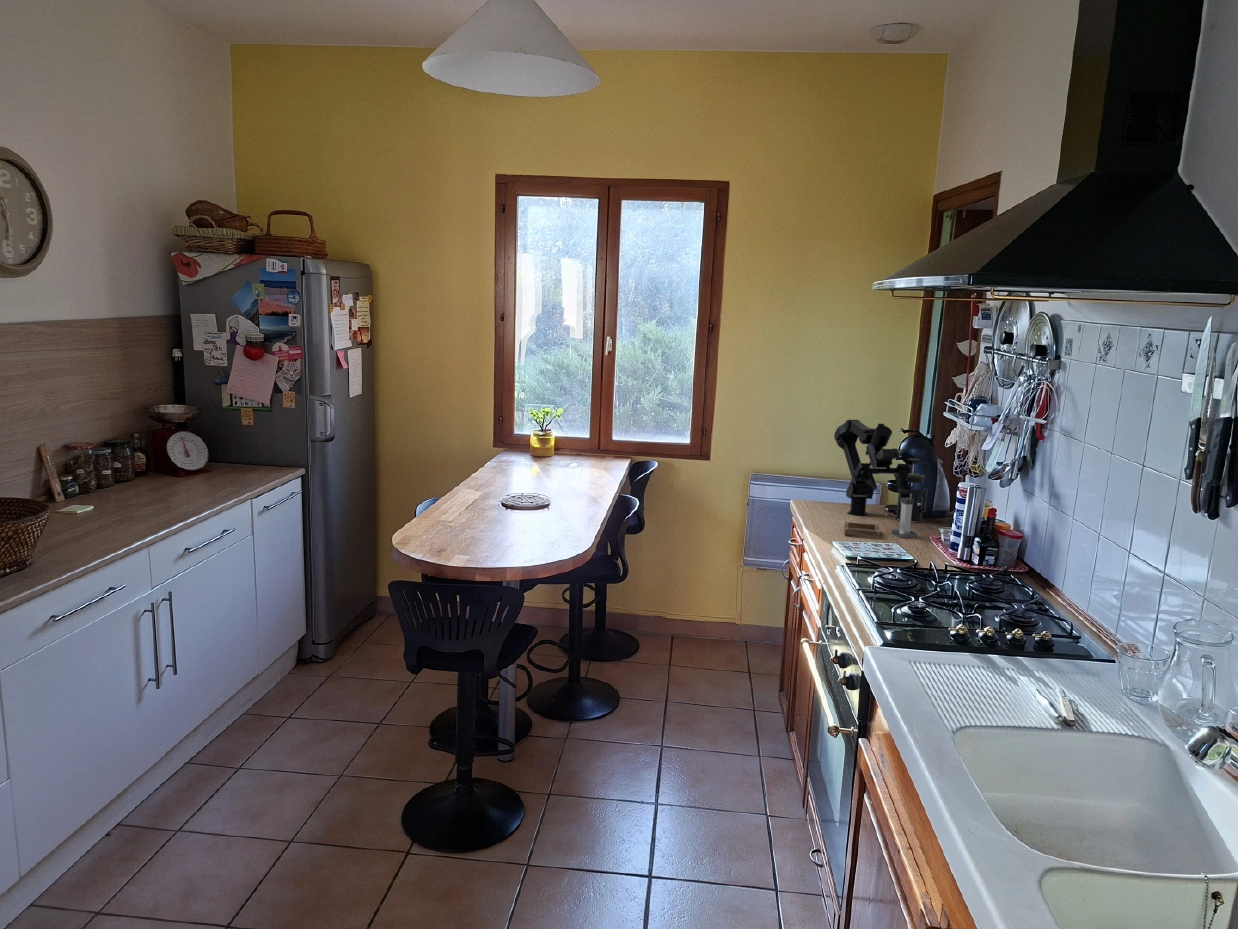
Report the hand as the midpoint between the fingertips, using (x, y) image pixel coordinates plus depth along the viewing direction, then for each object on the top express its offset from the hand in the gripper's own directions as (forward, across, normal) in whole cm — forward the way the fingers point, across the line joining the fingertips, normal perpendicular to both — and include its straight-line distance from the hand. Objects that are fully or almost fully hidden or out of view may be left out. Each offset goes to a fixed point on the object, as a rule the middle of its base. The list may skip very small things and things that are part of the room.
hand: (888, 489), depth 303 cm
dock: (+13, -11, +8) cm, 19 cm away
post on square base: (+16, +3, +6) cm, 17 cm away
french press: (-4, +16, +22) cm, 28 cm away
